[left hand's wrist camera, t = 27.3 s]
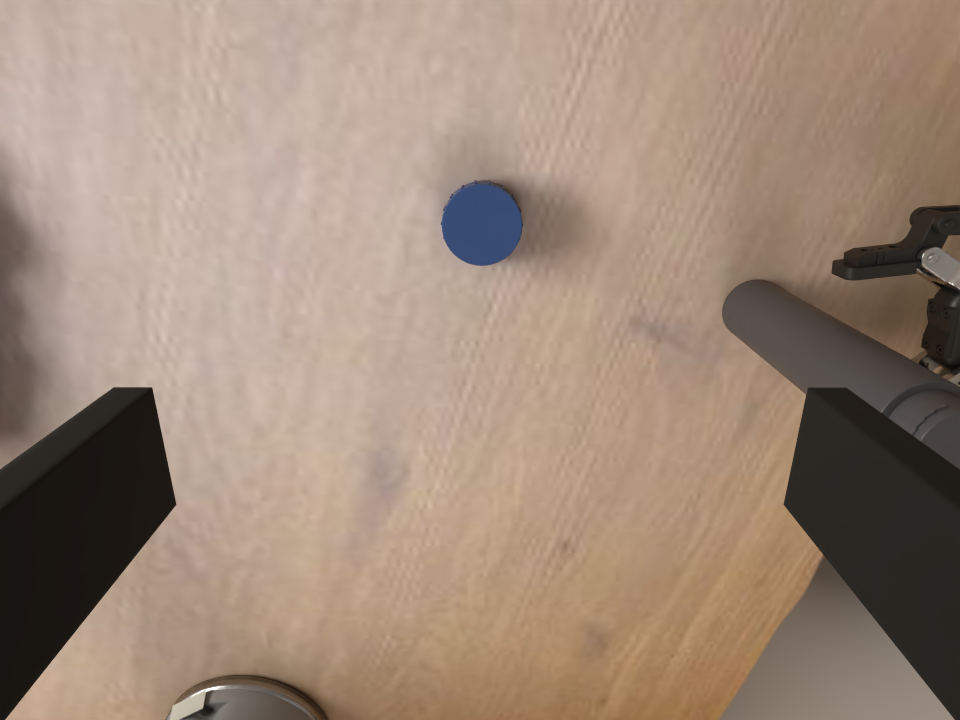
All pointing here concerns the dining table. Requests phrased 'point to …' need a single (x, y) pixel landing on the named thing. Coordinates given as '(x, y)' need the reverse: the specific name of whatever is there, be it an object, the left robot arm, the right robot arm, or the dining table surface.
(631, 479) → the dining table surface
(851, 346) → the jar
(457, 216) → the lid
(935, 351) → the right robot arm
